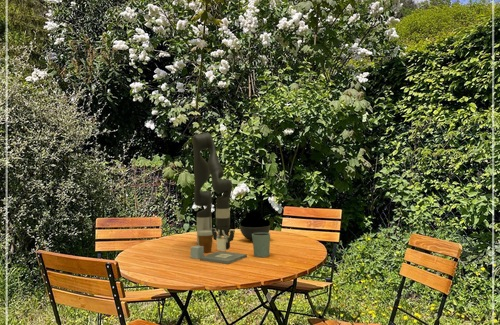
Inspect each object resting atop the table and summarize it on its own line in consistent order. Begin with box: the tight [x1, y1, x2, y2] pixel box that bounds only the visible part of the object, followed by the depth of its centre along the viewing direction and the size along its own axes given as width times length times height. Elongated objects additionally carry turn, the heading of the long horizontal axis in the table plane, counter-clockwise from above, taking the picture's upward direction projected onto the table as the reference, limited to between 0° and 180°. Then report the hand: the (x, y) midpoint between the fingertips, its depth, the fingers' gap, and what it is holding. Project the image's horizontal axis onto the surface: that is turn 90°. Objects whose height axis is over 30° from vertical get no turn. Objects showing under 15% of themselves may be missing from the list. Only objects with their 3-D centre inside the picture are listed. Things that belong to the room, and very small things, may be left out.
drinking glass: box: [252, 232, 271, 258], centre depth 239 cm, size 10×10×12 cm
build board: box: [199, 250, 248, 265], centre depth 233 cm, size 18×18×2 cm
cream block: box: [216, 236, 231, 252], centre depth 232 cm, size 5×5×6 cm
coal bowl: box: [239, 210, 271, 242], centre depth 282 cm, size 20×20×19 cm
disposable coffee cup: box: [196, 230, 214, 254], centre depth 250 cm, size 10×10×12 cm
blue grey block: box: [190, 245, 205, 260], centre depth 236 cm, size 5×5×6 cm
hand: (223, 248), depth 232 cm, fingers closed on cream block, 5 cm apart
